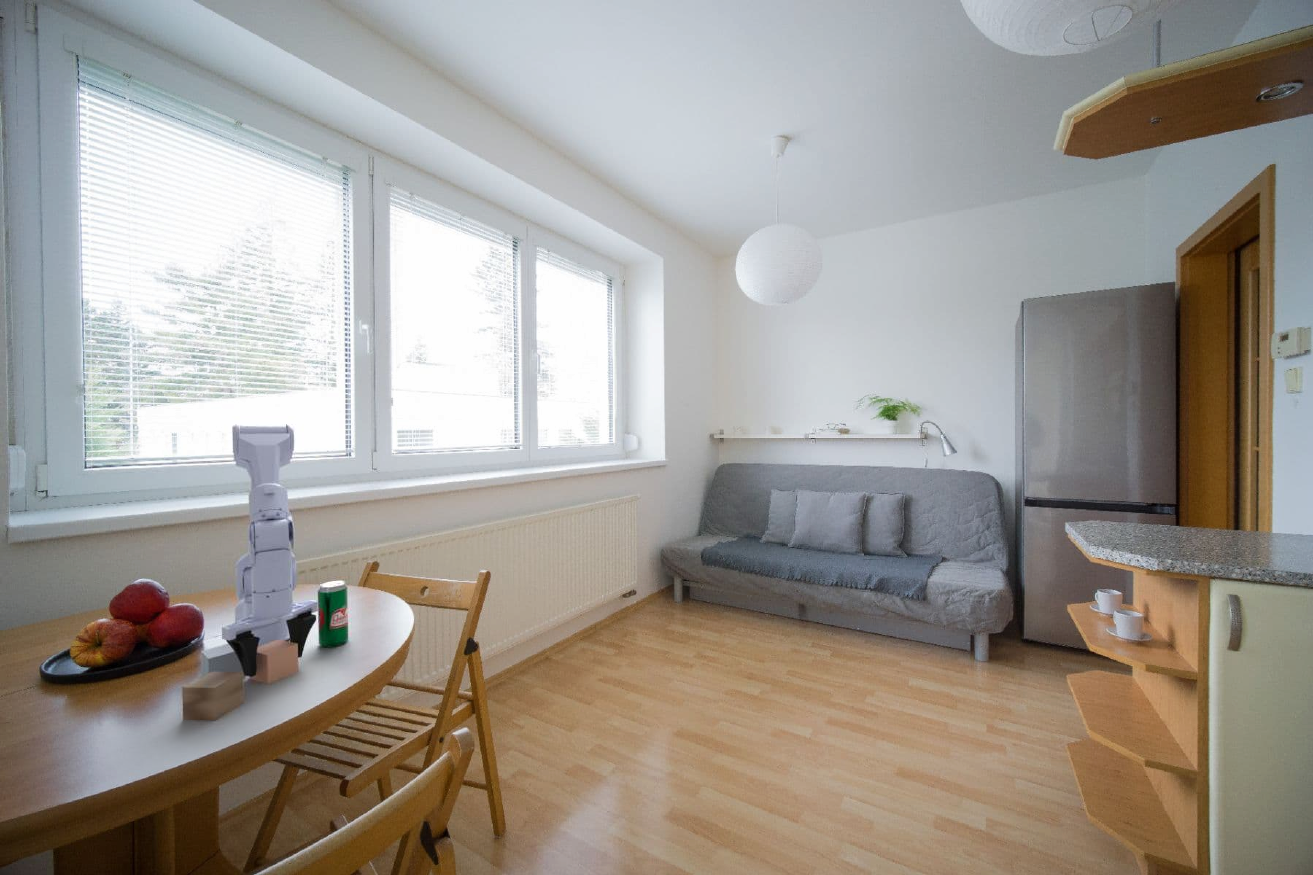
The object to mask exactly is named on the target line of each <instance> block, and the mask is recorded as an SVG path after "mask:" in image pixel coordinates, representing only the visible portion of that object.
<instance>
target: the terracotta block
mask: <svg viewBox="0 0 1313 875" xmlns="http://www.w3.org/2000/svg"><path fill="white" fill-rule="evenodd" d="M256 663H257V671H256V675H255V676H253V677H249V679H250V680H253V681H257V682H260V683H265V684H268V685H269V684H271V683H273V682H276V681H278V680H281V679H283V678H286V677H287V676H290V675H292V674H294V673H296V672H298V671H299V658H298V644H297V643H293V642H290V640H289V641H288V640H285V641H284V640H280V639H279V640H277V641H274V642H271V643H268V644H265V645H263V646H260V647H258V648H257V655H256Z"/></svg>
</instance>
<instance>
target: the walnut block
mask: <svg viewBox="0 0 1313 875" xmlns="http://www.w3.org/2000/svg"><path fill="white" fill-rule="evenodd" d="M244 687H245V686H244V677H243V672H214V671H213V672H211V673H209V674H207V675H205V676H203V677H200V678H199V677H198V678H197V679H196V680H194V681H192V682H190V683H188V684H186V685H184V686H182V687H181V690H182V691H181V692H182V694H181V696H182V698H181V699H182V720H183V721H200V722H201V721H202V722H203V721H205V722H207V721H209V722H210V721H211V722H216V721H217V720H219V719H221V718H222V717H224V716H226V715H227V714H229V713H230V712H231V711H233V710H235V709H237V708H238V707H240V706H242V705H243V704H244V703H245V695H244V693H245V692H244Z"/></svg>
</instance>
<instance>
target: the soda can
mask: <svg viewBox="0 0 1313 875" xmlns="http://www.w3.org/2000/svg"><path fill="white" fill-rule="evenodd" d="M348 596H349V595H348V586H347V584H346V582H345V581H343V580H333V581H328V582H324V583H322V584H319V588H318V590H317V601H318V611H317V619H318V621H317V624H318V633H317V634H318V645H320V646H321V647H323V648H333V647H339V646H341V645H343V644H344V643H347V641H348V640H349V606H348V605H349V604H348V601H349V600H348V599H349V598H348Z"/></svg>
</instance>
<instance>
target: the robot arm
mask: <svg viewBox="0 0 1313 875" xmlns="http://www.w3.org/2000/svg"><path fill="white" fill-rule="evenodd" d="M231 430H232V432H231V434H232V453H233V461H234V462H235V466H236V467H239V468H243V469H245V470H246V472H248V476H249V478H250V489H251V490H250V492H249V493H248V509H249V510H248V511H249V513H248V516H249V524H248V525H247V528H246V530H247V531H246V538H247V551H248V552H246V553H245V554H243V555H242V556H241V557H240V558H239V559H238V561H237V562H236V566H235V568H236V569H235V592H236V593H235V596H236V599H238V600H239V602H238V603H237V605H236V606H235V609H234V622H233V623H230V624H228V625H225V626H222V627H221V639H222V640H224V641H226V644H229V645H230V646H231V647H232V649H233V650H234V652H235V653H236V655H237V657H238V659H239V661H240V663H241V666H242V669H243V672H244V675H246V677H249V678H250V677H253V676H255V675H256V671H257V663H256V655H257V648H258V647H260V646H263V645H265V644H268V643H271V642H274V641H277V640H279V639H280V640H284V641H288V640H289V642H293V643H297V644H298V659H300V658H302V656H303V654H304V653H303V652H304V650H305V645H306V642H307V640H308V637H309V634H310V631H311V630H312V628H313V626H314V624H315V623H316V621H317V615H316V614H313V613H316V612H317V613H318V600H314V599H313V600H312V599H309V600H305V601H302V602H298V603H297V602H296V603H293V602H294V600H293V595H294V594H293V591H294V590H295V589H297V585H298V574H297V573H298V572H297V563H296V556H295V555H294V552H293V551H292V550H294V548H295V543H296V531H295V530H296V529H295V524H294V520H293V517H292V512H290V507H289V497H288V491H287V489H286V487H283V486H282V485H280V484H279V483H280V468H282V467H284V466H287V465H290V463H291V460H292V458H293V452H294V449H295V433H294V427H293V425H291V423H286V424H284V423H283V424H239V423H235V424H234V425H233V426H232V429H231ZM290 546H291V548H289V547H290ZM291 549H292V550H291Z"/></svg>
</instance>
